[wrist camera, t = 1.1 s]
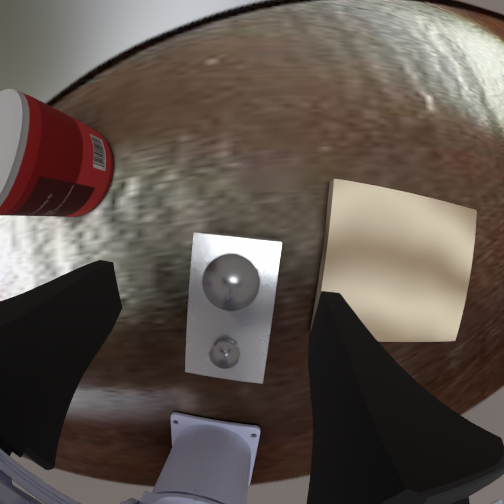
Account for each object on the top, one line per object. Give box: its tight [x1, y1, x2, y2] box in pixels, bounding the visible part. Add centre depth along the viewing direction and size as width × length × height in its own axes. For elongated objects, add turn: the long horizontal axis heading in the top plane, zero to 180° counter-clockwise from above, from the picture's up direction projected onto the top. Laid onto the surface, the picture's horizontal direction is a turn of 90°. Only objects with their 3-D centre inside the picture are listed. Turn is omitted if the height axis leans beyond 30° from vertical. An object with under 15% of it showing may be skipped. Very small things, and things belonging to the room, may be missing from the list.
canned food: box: [0, 89, 113, 217], centre depth 15 cm, size 8×8×11 cm
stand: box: [310, 179, 477, 342], centre depth 19 cm, size 11×13×2 cm
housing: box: [185, 232, 282, 384], centre depth 17 cm, size 8×4×7 cm, turn 174°
